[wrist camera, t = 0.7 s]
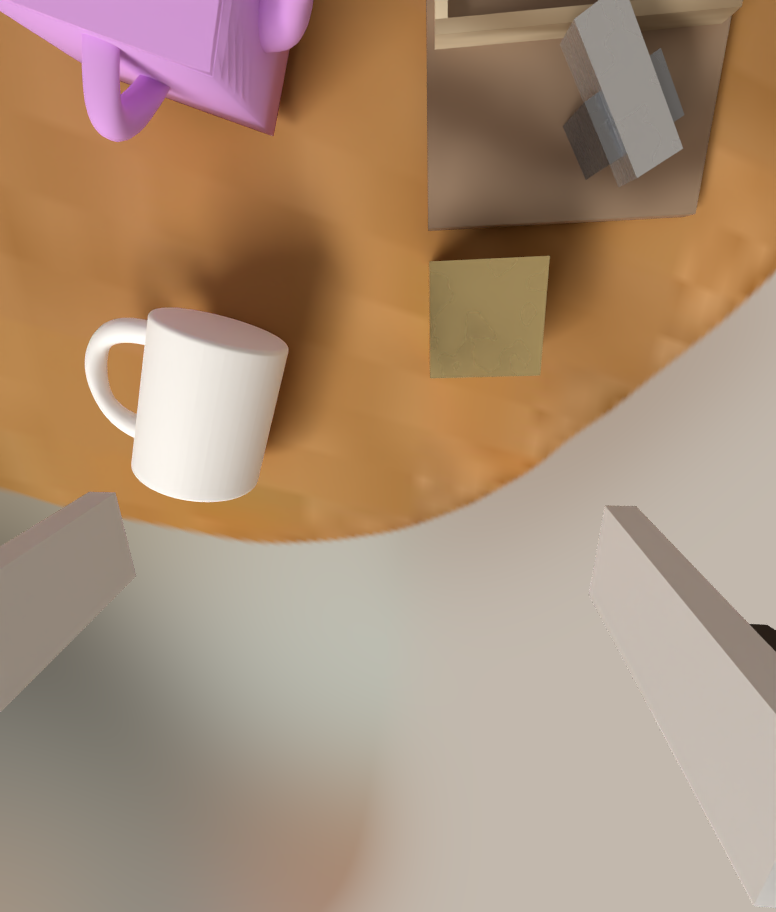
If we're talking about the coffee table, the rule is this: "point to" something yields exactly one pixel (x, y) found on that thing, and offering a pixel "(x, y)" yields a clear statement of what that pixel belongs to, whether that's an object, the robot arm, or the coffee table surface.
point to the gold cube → (487, 316)
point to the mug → (194, 400)
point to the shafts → (619, 95)
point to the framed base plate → (553, 113)
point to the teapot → (172, 55)
